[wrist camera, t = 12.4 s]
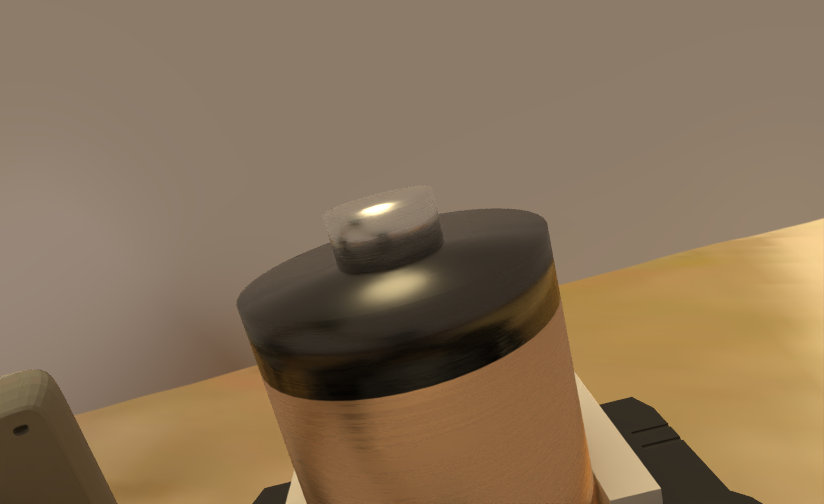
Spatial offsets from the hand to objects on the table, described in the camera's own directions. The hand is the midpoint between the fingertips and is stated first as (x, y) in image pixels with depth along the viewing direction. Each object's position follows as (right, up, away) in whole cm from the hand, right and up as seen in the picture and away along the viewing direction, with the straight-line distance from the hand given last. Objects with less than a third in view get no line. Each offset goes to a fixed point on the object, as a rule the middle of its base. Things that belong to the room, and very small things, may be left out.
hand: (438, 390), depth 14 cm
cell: (+2, -8, -4) cm, 8 cm away
